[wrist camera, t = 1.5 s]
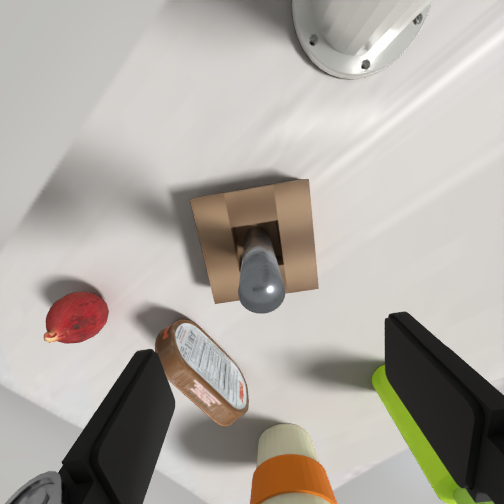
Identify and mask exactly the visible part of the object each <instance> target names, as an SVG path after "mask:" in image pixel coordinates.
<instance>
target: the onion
mask: <svg viewBox="0 0 504 504" xmlns="http://www.w3.org/2000/svg"><path fill="white" fill-rule="evenodd" d="M108 313H109V310H108V307H107V303H106V302H105V301H104V300H103V299H102V298H101V297H99V296H97V295H95V294H93V293H88V292H76V293H71V294H68V295H66V296H64V297H63V298H61V299H59V300H58V301H56V302H55V303H54V304H53V305H52V307H51V308H50V310H49V312H48V314H47V317H46V329H47V331H48V332H46V333H45V334H44V340H45V341H47V342H49V343H50V342H55V341H58V342H62V343H67V344H68V343H79V342H83V341H85V340H87V339H89V338H91V337H94V336H95V335H96V334H97V333H99V331H100V330H101V329H102V328H103V326H104V325H105V324H106V322H107V318H108Z"/></svg>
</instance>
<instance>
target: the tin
mask: <svg viewBox="0 0 504 504" xmlns="http://www.w3.org/2000/svg"><path fill="white" fill-rule="evenodd" d="M155 352H157V353H158V355H159V358H160V361H161V363H162V366H163V369H164V371H165V374H166V377H167V379H168V380H169V381H170V382H171V383H172V384H173V385H174V386H175V387H177V388H178V389H179V390H180V391H181V392H182V393H183V394H184V395H185V396H187V397H188V398H189V399H190V400H191V401H192V402H193V403H194V404H196V405H197V406H198V407H199V408H200V409H201V410H202V411H203V412H204V413H205V414H206V415H208V416H209V417H210V418H211V419H212V420H213V421H214V422H215V423H217V424H218V425H221V426H230V425H232V424H233V423H234V421H236V420H237V419H239V418H240V417H242V416H243V415H244V414H245V413H246V412H247V410H248V404H249V399H248V388H247V384H246V381H245V379H244V376H243V374H242V373H241V371H240V369H239V368H238V366H237V365H236V363H235V362H234V361H233V360H232V359H231V358H230V357H229V356H228V355H227V354H226V353H225V352H224V351H223V350H222V349H221V348H220V347H219V346H218V345H217V344H216V343H215V342H214V341H213V340H212V339H211V338H210V337H209V336H208V335H207V334H206V333H205V332H204V331H203V330H202V329H201V328H200V327H199V326H198V325H197V324H195V323H194V322H192V321H190V320H186V319H180V320H177V321H175V322H174V323H172V324H171V325H170V326H169V327H167V328H165V329H163V330H162V331H161V332H160V333H159V334H158V336H157V339H156V343H155Z"/></svg>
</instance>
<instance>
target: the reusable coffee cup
mask: <svg viewBox="0 0 504 504" xmlns="http://www.w3.org/2000/svg"><path fill="white" fill-rule="evenodd" d="M250 504H337V502H336V500H335V497H334V494H333V491H332V488H331V485H330V483H329V480H328V477H327V474H326V471H325V469H324V468H323V466H322V465H321V464H320V463H319V460H318V457H317V454H316V451H315V448H314V445H313V443H312V440H311V437H310V435H309V433H308V432H307V431H306V430H305V429H303V428H302V427H300V426H297V425H294V424H278V425H274V426H272V427H270V428H268V429H266V430H265V431H264V432H263V433H262V435H261V436H260V438H259V444H258V455H257V466H256V470H255V472H254V474H253V479H252V489H251V499H250Z"/></svg>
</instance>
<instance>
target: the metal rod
mask: <svg viewBox="0 0 504 504" xmlns="http://www.w3.org/2000/svg"><path fill="white" fill-rule="evenodd" d="M238 297H239V300H240V302H241V304H242V305H243V306H244V307H245V308H246V309H248V310H249V311H251V312H254V313H268V312H271V311H273V310H275V309H277V308H278V307H279V306H280V305H281V303H282V302H283V300H284V297H285V287H284V284H283V280H282V277H281V273H280V270H279V267H278V263H277V260H276V256H275V253H274V250H273V246H272V243H271V240H270V236H269V233H268V232H267V231H266V230H265V229H264V228H262V227H253V228H251V229H250V230H248V232H247V233H246V235H245V242H244V249H243V257H242V265H241V272H240V280H239V288H238Z"/></svg>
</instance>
